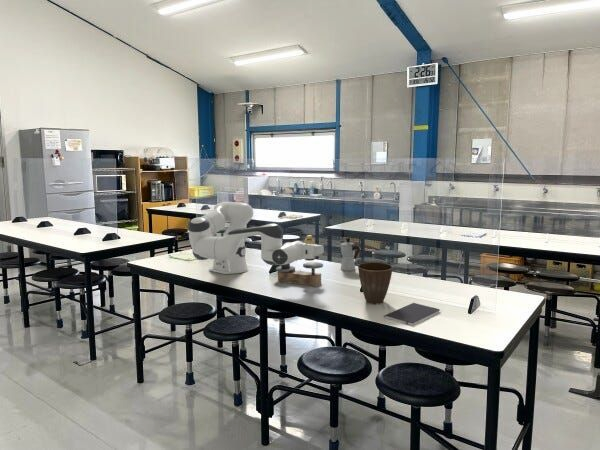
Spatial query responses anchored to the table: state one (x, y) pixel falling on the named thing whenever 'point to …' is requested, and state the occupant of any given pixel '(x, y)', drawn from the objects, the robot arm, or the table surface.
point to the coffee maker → (348, 255)
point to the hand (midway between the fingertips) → (310, 245)
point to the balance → (300, 274)
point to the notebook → (412, 313)
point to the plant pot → (375, 281)
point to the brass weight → (309, 241)
